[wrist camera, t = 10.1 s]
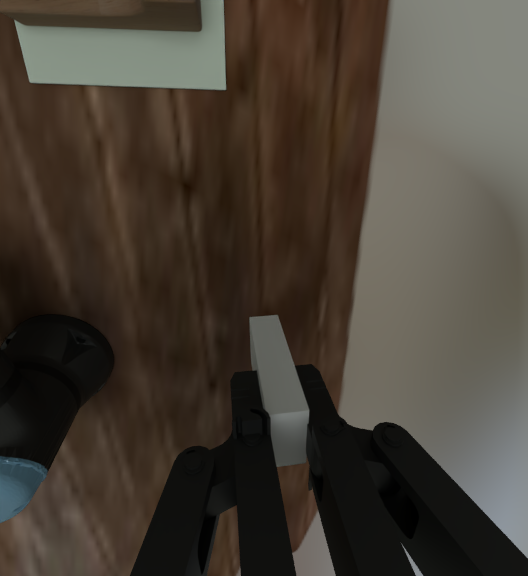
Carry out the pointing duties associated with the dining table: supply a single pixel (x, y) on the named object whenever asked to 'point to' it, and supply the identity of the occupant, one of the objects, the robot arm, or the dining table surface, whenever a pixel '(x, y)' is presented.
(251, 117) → the dining table surface
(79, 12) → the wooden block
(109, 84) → the mat
